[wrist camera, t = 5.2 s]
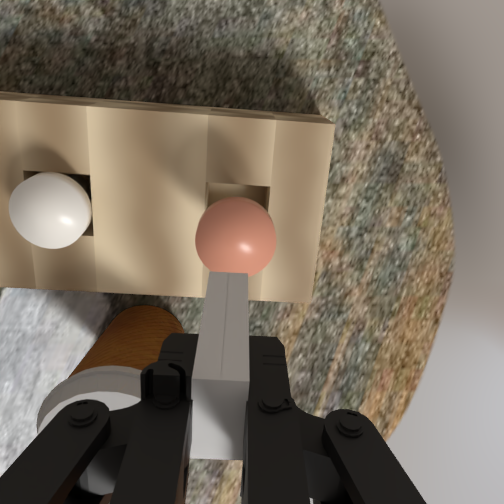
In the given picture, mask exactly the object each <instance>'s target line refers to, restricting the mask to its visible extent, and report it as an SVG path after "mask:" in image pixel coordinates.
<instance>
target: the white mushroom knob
mask: <svg viewBox="0 0 504 504" xmlns="http://www.w3.org/2000/svg"><path fill="white" fill-rule="evenodd" d="M91 200H92V197H91V185H90V184H89V182H88V181H87V180H86V179H84V178H83V177H81V176H79V175H74V174H71V175H63V174H60V173H56V172H43V173H39V174H36V175H34V176H32V177H30V178H28V179H27V180H25V181H23V182H22V183H20V184H19V185H18V186H17V187H16V188H15V189H14V191H13V192H12V194H11V197H10V200H9V214H10V218H11V221H12V223H13V225H14V227H15V228H16V230H17V231H18V232H19V234H20V235H21V236H23V237H24V238H25V239H26V240H27V241H29V242H31V243H32V244H35V245H37V246H40V247H43V248H48V249H58V248H63V247H66V246H69V245H71V244H72V243H74V242H75V241H76V240H77V239H78V238H79V237H80V236H81V235H82V234H83V233H84V232H85V230H86V229H87V228H88V226H89V224H90V221H91V217H92V207H91V203H90V202H91Z"/></svg>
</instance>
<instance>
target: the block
mask: <svg viewBox="0 0 504 504" xmlns="http://www.w3.org/2000/svg"><path fill="white" fill-rule="evenodd" d="M334 130H335V124H334V123H333V122H331V121H330V120H328V119H327V118H325V117H324V116H322V115H314V114H301V113H287V112H274V111H260V110H247V109H233V108H220V107H206V106H193V105H179V104H166V103H152V102H138V101H125V100H111V99H98V98H84V97H71V96H57V95H44V94H30V93H17V92H3V91H0V287H10V288H29V289H48V290H67V291H87V292H106V293H125V294H144V295H163V296H182V297H201V298H205V296H206V290H207V284H208V278H209V272H210V270H209V269H208V268H207V267H206V266H205V265H204V264H203V263H202V261H201V260H200V258H199V256H198V254H197V251H196V246H195V235H196V231H197V227H198V223H199V220H200V218H201V216H202V214H203V213H204V212H205V210H206V209H207V208H208V207H209V206H210V205H212V204H213V203H215V202H216V201H218V200H221V199H224V198H227V197H232V196H240V197H244V198H248V199H251V200H253V201H255V202H257V203H258V204H260V205H261V206H262V207H263V208H264V209H265V210H266V211H267V212H268V213H269V215H270V217H271V218H272V221H273V224H274V228H275V233H276V249H275V253H274V255H273V257H272V259H271V261H270V262H269V263H268V265H267V266H266V267H265V268H264V269H263V270H261V271H260V272H258V273H257V274H255V275H252V276H250V277H248V300H258V301H278V302H297V303H311V298H312V290H313V283H314V276H315V269H316V261H317V254H318V247H319V240H320V232H321V225H322V218H323V210H324V203H325V196H326V189H327V181H328V174H329V167H330V159H331V152H332V145H333V138H334ZM43 172H56V173H60V174H63V175H71V174H74V175H79V176H81V177H83V178H84V179H86V180H87V181H88V182H89V184H90V185H91V197H92V200H91V202H90V203H91V207H92V217H91V221H90V224H89V226H88V228H87V229H86V230H85V232H84V233H83V234H82V235H81V236H80V237H79V238H78V239H77V240H76V241H75V242H74V243H72V244H71V245H69V246H66V247H63V248H58V249H48V248H43V247H40V246H37V245H35V244H32V243H31V242H29V241H27V240H26V239H25V238H24V237H23V236H21V235H20V234H19V232H18V231H17V230H16V228H15V227H14V225H13V223H12V221H11V218H10V214H9V200H10V197H11V194H12V192H13V191H14V189H15V188H16V187H17V186H18V185H19V184H20V183H22V182H23V181H25V180H27V179H28V178H30V177H32V176H34V175H36V174H39V173H43Z"/></svg>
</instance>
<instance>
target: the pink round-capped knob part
mask: <svg viewBox="0 0 504 504" xmlns="http://www.w3.org/2000/svg"><path fill="white" fill-rule="evenodd" d="M195 246H196V251H197V254H198V256H199V258H200V260H201V261H202V263H203V264H204V265H205V266H206V267H207V268H208V269H209V270H210V271H212V272H230V273H248V277H250V276H252V275H255V274H257V273H258V272H260V271H261V270H263V269H264V268H265V267H266V266H267V265H268V263H269V262H270V261H271V259H272V257H273V255H274V253H275V249H276V233H275V228H274V224H273V221H272V218H271V217H270V215H269V213H268V212H267V211H266V210H265V209H264V208H263V207H262V206H261V205H260V204H258V203H257V202H255V201H253V200H251V199H248V198H244V197H240V196H232V197H227V198H224V199H221V200H218V201H216V202H215V203H213V204H212V205H210V206H209V207H208V208H207V209H206V210H205V212H204V213H203V214H202V216H201V218H200V220H199V223H198V227H197V231H196V235H195Z"/></svg>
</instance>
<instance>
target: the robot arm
mask: <svg viewBox="0 0 504 504" xmlns="http://www.w3.org/2000/svg"><path fill="white" fill-rule="evenodd" d="M286 365H287V364H286V358H285V349H284V345H283V344H282V343H281V342H280V340H279V339H278V338H277V337H267V336H249V306H248V273H230V272H212V271H210V272H209V278H208V284H207V290H206V296H205V302H204V308H203V314H202V320H201V326H200V332H199V334H187V333H171V334H170V335H169V336H168V337H167V338H166V339H165V340H164V341H163V343H162V346H161V350H160V353H159V357H158V361H157V362H154V363H151V364H149V365H148V366H146V367H145V368H144V369H143V370H142V372H141V373H140V387H141V401H139V402H138V403H136V404H134V405H132V406H130V407H126V408H123V409H117V410H112V411H109V408H108V407H107V405H106V404H105V403H103V402H101V401H98V400H93V399H84V400H78V401H75V402H73V403H70V404H68V405H66V406H65V407H64V408H63V409H61V410H60V411H59V412H58V413H57V414H56V415H55V417H54V418H53V419H52V420H51V421H50V422H49V423H48V424H47V425H46V427H45V428H44V429H43V430H42V431H41V432H40V433H39V434H38V436H37V437H36V438H35V439H34V440H33V441H32V442H31V443H30V445H29V446H28V447H27V448H26V449H25V450H24V451H23V452H22V454H21V455H20V456H19V457H18V458H17V459H16V460H15V461H14V463H13V464H12V465H11V466H10V467H9V468H8V469H7V470H6V472H5V473H4V474H3V475H2V476H1V477H0V504H109V502H110V504H185V500H186V492H187V485H188V477H189V458H199V459H224V460H243V467H242V480H241V492H240V496H241V497H242V502H241V504H310V498H313V504H426V502H425V501H424V499H423V498H422V496H421V495H420V493H419V492H418V490H417V489H416V487H415V486H414V484H413V483H412V481H411V480H410V478H409V477H408V475H407V474H406V472H405V471H404V469H403V468H402V467H401V465H400V463H399V462H398V460H397V459H396V457H395V456H394V454H393V453H392V451H391V450H390V448H389V447H388V445H387V444H386V442H385V441H384V439H383V438H382V436H381V435H380V433H379V432H378V430H377V429H376V427H375V426H374V424H373V423H372V422H371V421H370V420H369V419H368V418H367V417H366V416H364V415H362V414H361V413H359V412H356V411H352V410H349V409H338V410H335V411H332V412H330V413H329V414H328V415H327V416H326V418H325V419H323V418H320V417H316V416H313V415H311V414H308V413H306V412H304V411H302V410H301V409H300V408H298V407H297V406H296V404H295V402H294V399H292V398H291V393H290V386H289V378H288V371H287V366H286ZM309 497H310V498H309Z"/></svg>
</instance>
